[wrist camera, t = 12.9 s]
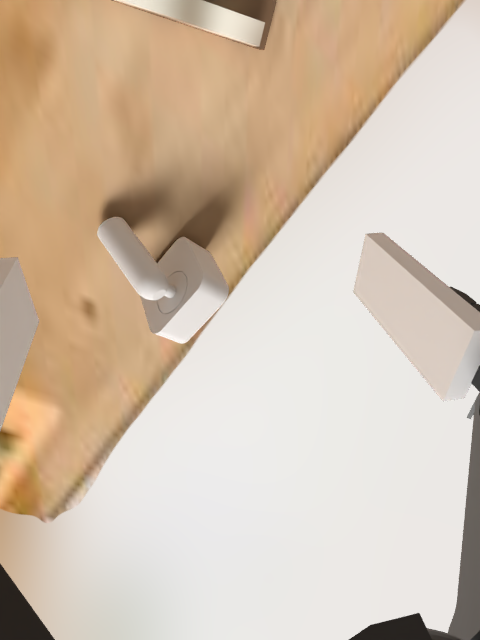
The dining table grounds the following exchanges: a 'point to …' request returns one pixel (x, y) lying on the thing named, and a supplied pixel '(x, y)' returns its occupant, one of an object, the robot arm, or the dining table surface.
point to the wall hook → (168, 280)
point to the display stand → (216, 17)
